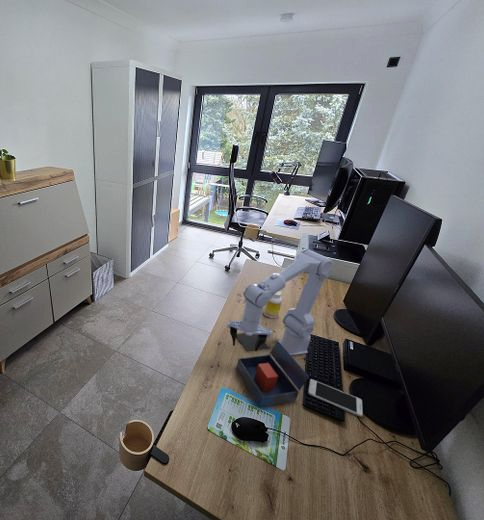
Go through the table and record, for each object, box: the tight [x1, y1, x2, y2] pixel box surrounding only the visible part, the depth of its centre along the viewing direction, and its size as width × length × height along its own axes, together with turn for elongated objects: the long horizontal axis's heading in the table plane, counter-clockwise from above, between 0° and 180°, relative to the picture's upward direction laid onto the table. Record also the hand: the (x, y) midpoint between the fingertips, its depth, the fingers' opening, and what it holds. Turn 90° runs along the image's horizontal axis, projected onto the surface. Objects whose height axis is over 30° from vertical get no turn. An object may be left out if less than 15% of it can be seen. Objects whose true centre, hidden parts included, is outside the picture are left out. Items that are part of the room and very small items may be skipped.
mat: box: [236, 332, 269, 352], centre depth 123 cm, size 10×10×1 cm
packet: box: [255, 363, 278, 392], centre depth 102 cm, size 4×6×7 cm, turn 10°
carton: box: [235, 353, 300, 409], centre depth 102 cm, size 13×17×5 cm
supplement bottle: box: [262, 290, 283, 319], centre depth 137 cm, size 7×7×13 cm
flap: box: [269, 340, 310, 391], centre depth 100 cm, size 6×17×1 cm
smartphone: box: [307, 378, 364, 418], centre depth 99 cm, size 7×16×1 cm, turn 57°
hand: (244, 346), depth 106 cm, fingers open, 7 cm apart
